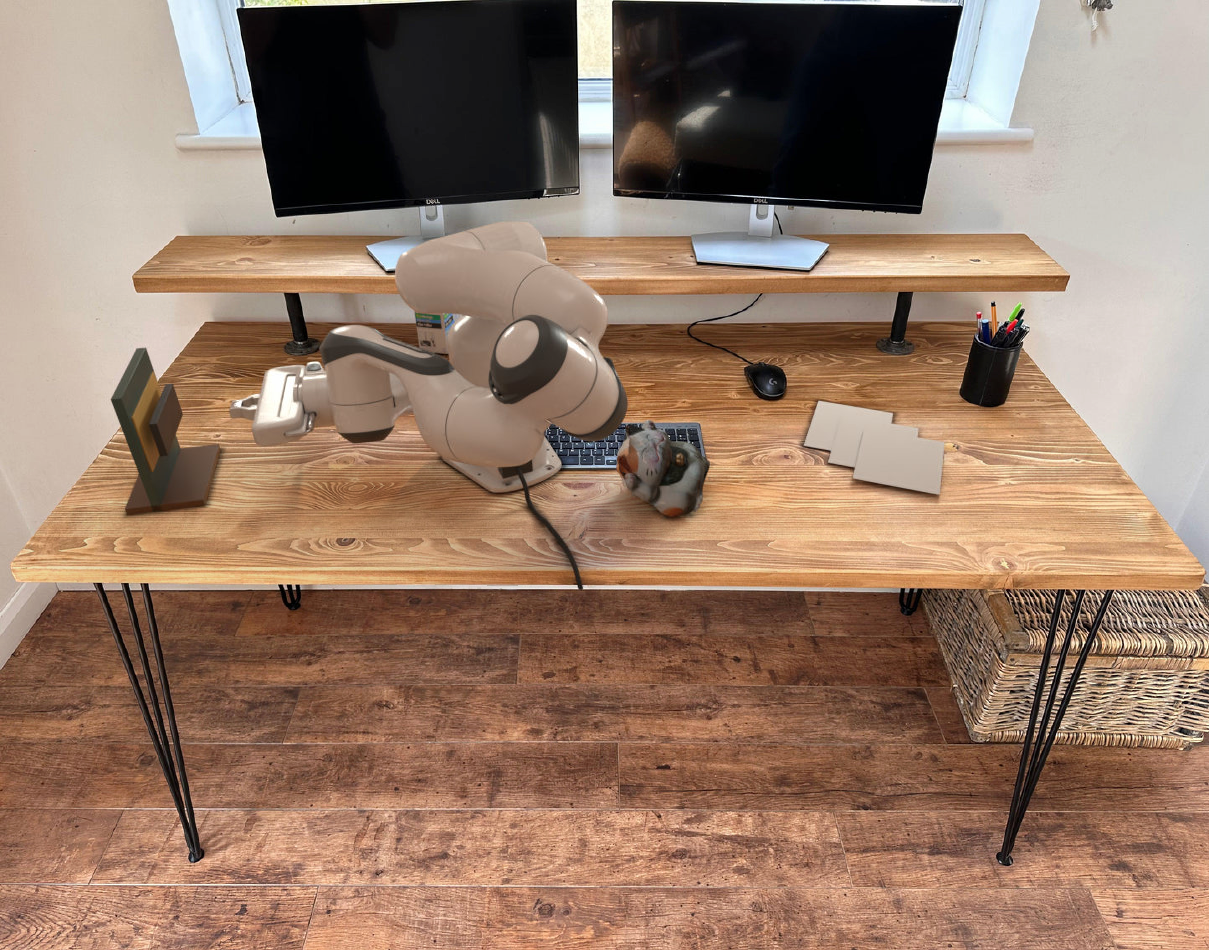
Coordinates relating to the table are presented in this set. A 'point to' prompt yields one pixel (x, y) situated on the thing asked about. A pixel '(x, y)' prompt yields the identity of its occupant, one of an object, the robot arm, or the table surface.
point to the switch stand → (160, 477)
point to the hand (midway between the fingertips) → (231, 409)
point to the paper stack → (877, 447)
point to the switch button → (166, 420)
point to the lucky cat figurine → (662, 470)
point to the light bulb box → (434, 330)
